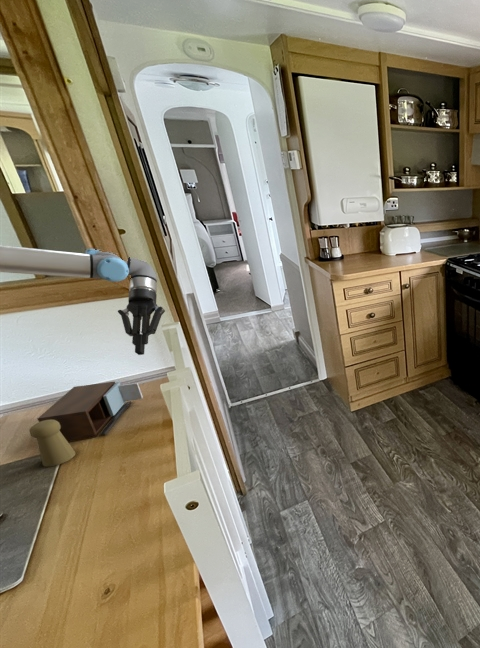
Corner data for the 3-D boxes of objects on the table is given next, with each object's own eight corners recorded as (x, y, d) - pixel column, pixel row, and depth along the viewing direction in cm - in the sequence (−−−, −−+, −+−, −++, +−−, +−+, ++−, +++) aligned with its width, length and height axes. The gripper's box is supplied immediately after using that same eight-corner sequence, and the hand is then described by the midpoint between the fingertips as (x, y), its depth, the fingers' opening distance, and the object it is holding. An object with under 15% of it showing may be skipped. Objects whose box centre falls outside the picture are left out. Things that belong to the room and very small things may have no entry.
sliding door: (110, 416, 113) (102, 396, 111) (123, 401, 121) (116, 382, 119) (133, 412, 115) (126, 393, 113) (144, 398, 123) (138, 379, 121)
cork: (36, 464, 95) (17, 428, 91) (64, 449, 101) (48, 414, 97) (53, 468, 94) (35, 432, 90) (81, 453, 100) (66, 418, 95)
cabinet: (49, 444, 102) (37, 418, 99) (84, 410, 118) (73, 386, 115) (105, 435, 107) (95, 409, 103) (131, 403, 122) (123, 380, 119)
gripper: (169, 296, 140) (167, 354, 132) (125, 299, 135) (121, 360, 127) (160, 285, 133) (158, 346, 125) (114, 288, 129) (108, 351, 121)
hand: (139, 353), depth 126 cm, fingers closed
